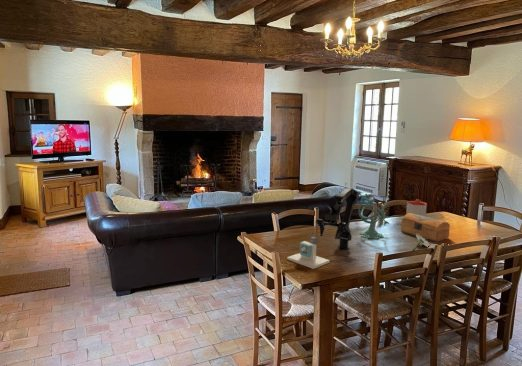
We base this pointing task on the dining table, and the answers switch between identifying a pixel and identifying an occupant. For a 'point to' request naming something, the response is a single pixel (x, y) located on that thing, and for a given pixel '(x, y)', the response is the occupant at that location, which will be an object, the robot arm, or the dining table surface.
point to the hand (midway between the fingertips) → (328, 237)
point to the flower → (421, 240)
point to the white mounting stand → (309, 258)
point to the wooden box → (425, 227)
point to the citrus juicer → (416, 207)
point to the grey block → (312, 240)
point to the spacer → (307, 249)
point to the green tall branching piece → (371, 232)
